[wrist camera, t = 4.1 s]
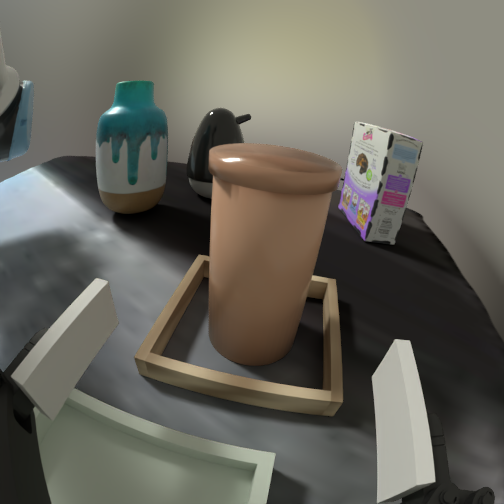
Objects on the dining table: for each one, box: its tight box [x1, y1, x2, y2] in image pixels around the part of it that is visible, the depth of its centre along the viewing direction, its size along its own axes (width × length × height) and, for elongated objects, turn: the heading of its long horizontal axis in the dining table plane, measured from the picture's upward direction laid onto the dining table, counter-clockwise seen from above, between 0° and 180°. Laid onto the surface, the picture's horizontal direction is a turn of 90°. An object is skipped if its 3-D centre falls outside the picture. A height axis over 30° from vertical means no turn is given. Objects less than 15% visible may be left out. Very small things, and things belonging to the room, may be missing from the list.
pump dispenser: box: [187, 108, 251, 198], centre depth 46 cm, size 10×10×15 cm
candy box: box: [339, 122, 423, 245], centre depth 41 cm, size 14×6×16 cm, turn 2°
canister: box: [208, 143, 342, 366], centre depth 19 cm, size 8×8×14 cm
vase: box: [96, 81, 168, 214], centre depth 36 cm, size 11×11×19 cm
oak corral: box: [134, 255, 343, 416], centre depth 22 cm, size 14×14×2 cm
